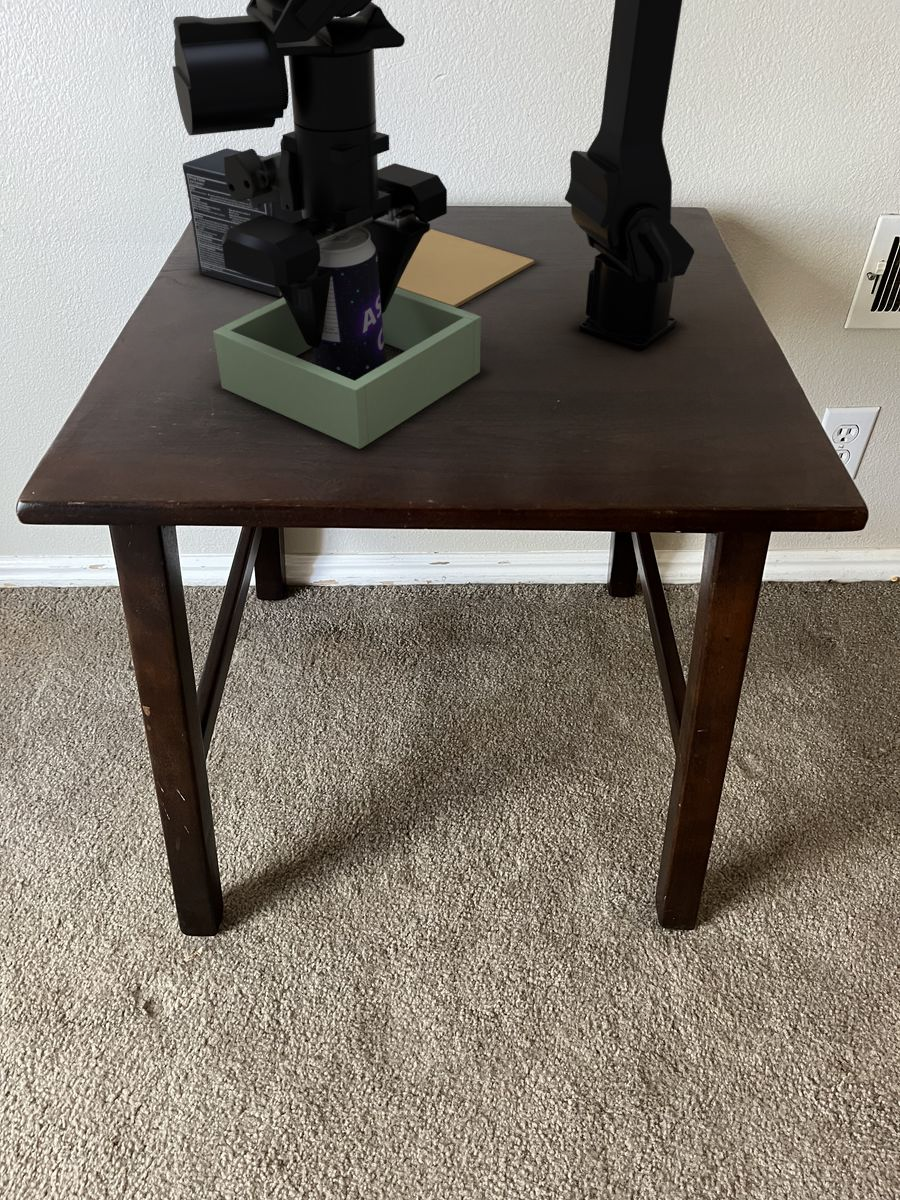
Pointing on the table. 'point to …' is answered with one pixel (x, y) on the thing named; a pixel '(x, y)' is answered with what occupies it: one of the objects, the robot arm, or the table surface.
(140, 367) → the table surface
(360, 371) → the beverage can
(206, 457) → the table surface
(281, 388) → the frame
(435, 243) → the mat
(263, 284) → the small box
